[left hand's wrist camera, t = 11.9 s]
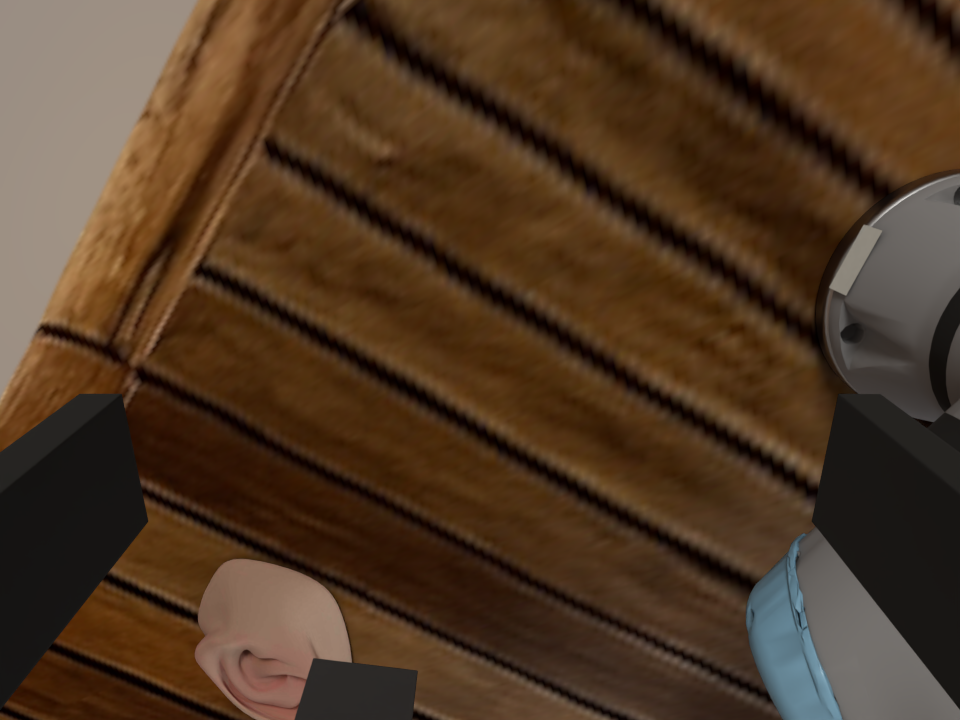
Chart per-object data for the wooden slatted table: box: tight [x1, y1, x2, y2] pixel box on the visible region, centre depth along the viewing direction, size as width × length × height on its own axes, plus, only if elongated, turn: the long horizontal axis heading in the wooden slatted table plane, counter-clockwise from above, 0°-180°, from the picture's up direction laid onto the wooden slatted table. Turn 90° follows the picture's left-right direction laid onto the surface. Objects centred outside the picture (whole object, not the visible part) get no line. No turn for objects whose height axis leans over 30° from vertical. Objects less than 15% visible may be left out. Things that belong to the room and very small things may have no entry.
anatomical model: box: [195, 559, 352, 720], centre depth 50 cm, size 13×4×12 cm
